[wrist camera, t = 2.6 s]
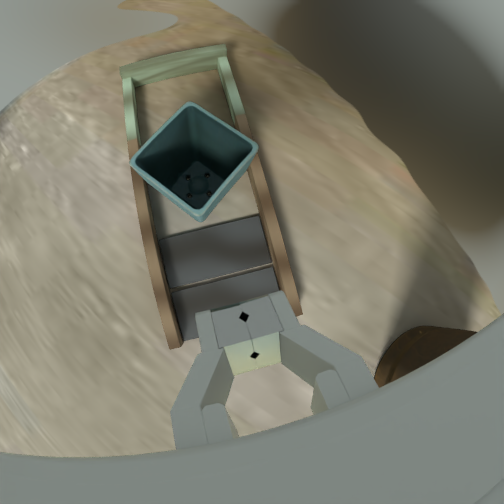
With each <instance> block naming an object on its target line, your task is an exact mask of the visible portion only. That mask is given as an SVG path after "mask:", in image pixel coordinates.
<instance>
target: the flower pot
mask: <svg viewBox="0 0 504 504" xmlns="http://www.w3.org/2000/svg"><path fill="white" fill-rule="evenodd" d="M258 149H259V146H258V144H257V143H256V142H254V141H253V140H251V139H250V138H248V137H247V136H245V135H244V134H242V133H241V132H239V131H237V130H236V129H234V128H233V127H231V126H230V125H228V124H227V123H225V122H224V121H222V120H220V119H219V118H217V117H216V116H214V115H213V114H211V113H210V112H208V111H206V110H205V109H204V108H202V107H200V106H199V105H197V104H196V103H194V102H190V101H189V102H186V103H185V104H184V105H183V106H182V107H181V108H180V109H179V110H178V111H177V112H176V113H174V114H173V116H172V117H171V118H169V119H168V120H167V121H166V122H165V123H164V124H163V125H162V126H161V127H160V128H159V129H158V130H157V131H156V132H155V133H154V134H153V136H152V137H151V138H150V139H149V140H148V141H147V142H146V143H145V144H144V145H143V146H142V147H141V148H140V149H139V150H138V151H137V152H136V153H135V154H134V155H133V157H132V158H131V159H130V161H129V164H130V166H131V167H132V168H133V169H134V170H135V171H136V172H137V173H138V174H139V175H140V176H141V177H142V178H143V179H144V180H145V181H146V182H147V183H148V184H150V185H151V186H152V187H154V188H155V189H156V190H158V191H159V192H160V193H162V194H163V195H164V196H165V197H167V198H168V199H169V200H171V201H172V202H173V203H174V204H176V205H177V206H178V207H180V208H181V209H182V210H184V211H185V212H186V213H187V214H189V215H190V216H191V217H193V218H194V219H195V220H196V221H198V222H203V221H204V220H205V219H206V218H207V217H208V215H209V214H210V213H211V212H212V210H213V209H214V208H215V207H216V206H217V204H218V203H219V202H220V201H221V199H222V198H223V197H224V196H225V195H226V193H227V192H228V191H229V190H230V189H231V188H232V186H233V185H234V184H235V183H236V182H237V181H238V180H239V178H240V177H241V176H242V175H243V174H244V173H245V172H246V170H247V169H248V167H249V165H250V163H251V162H252V160H253V158H254V156H255V155H256V153H257V151H258ZM206 174H209V175H210V177H209V178H206V177H205V175H206ZM188 176H189V177H190V180H186V178H187V177H188ZM208 192H211V193H212V194H211V196H208V195H207V193H208ZM189 194H191V195H192V198H188V195H189Z"/></svg>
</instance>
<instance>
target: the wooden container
mask: <svg viewBox="0 0 504 504" xmlns="http://www.w3.org/2000/svg"><path fill="white" fill-rule="evenodd" d="M476 333H477V332H474V331H468V330H460V329H452V328H442V327H434V326H420V327H416V328H413V329H411V330H409V331H407V332H405V333H404V334H402V335H401V336H400V337H399V338H398V339H397V340H396V341H395V342H394V343H393V344H392V345H391V346H390V347H389V349H388V350H387V351H386V353H385V354H384V356H383V358H382V360H381V362H380V363H379V366H378V368H377V371H376V374H375V378H374V380H375V382H376V383H377V385H378V387H379V388H380V387H382V386H385V385H387V384H389V383H391V382H393V381H395V380H397V379H399V378H401V377H403V376H405V375H407V374H409V373H410V372H412V371H414V370H416V369H418V368H420V367H422V366H423V365H425V364H427V363H429V362H431V361H432V360H434V359H436V358H438V357H439V356H441V355H443V354H444V353H446V352H448V351H449V350H451V349H453V348H454V347H456V346H457V345H459V344H461V343H462V342H464V341H465V340H467V339H468V338H470V337H471V336H473V335H474V334H476Z"/></svg>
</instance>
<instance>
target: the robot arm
mask: <svg viewBox="0 0 504 504" xmlns="http://www.w3.org/2000/svg"><path fill="white" fill-rule="evenodd" d="M195 318H196V324H197V329H198V335H199V340H200V345H201V351H202V353H200V354H198V355H197V357H196V359H195V361H194V363H193V365H192V367H191V369H190V371H189V373H188V376H187V378H186V380H185V382H184V384H183V386H182V388H181V390H180V392H179V394H178V396H177V399H176V401H175V403H174V405H173V407H172V409H171V411H170V413H171V420H172V427H173V433H174V439H175V445H176V450H171V451H164V452H156V453H147V454H137V455H125V456H109V457H48V456H33V455H22V454H13V453H5V452H0V504H504V314H502V315H501V316H500V317H498V318H497V319H496V320H494V321H493V322H491V323H490V324H489V325H487V326H486V327H484V328H483V329H482V330H480V331H479V332H477V333H476V334H474V335H473V336H471V337H470V338H468V339H467V340H465V341H464V342H462V343H461V344H459V345H457V346H456V347H454V348H453V349H451V350H449V351H448V352H446V353H444V354H443V355H441V356H439V357H438V358H436V359H434V360H432V361H431V362H429V363H427V364H425V365H423V366H422V367H420V368H418V369H416V370H414V371H412V372H410V373H409V374H407V375H405V376H403V377H401V378H399V379H397V380H395V381H393V382H391V383H389V384H387V385H385V386H382V387H380V388H379V387H378V385H377V383H376V382H375V380H374V378H373V376H372V374H371V373H370V371H369V369H368V367H367V366H366V364H365V362H364V360H363V359H362V357H361V356H360V355H358V354H356V353H354V352H352V351H351V350H349V349H347V348H345V347H343V346H342V345H340V344H338V343H336V342H334V341H333V340H331V339H329V338H327V337H326V336H324V335H322V334H320V333H318V332H317V331H315V330H313V329H311V328H310V327H308V326H306V325H301V326H300V324H299V322H298V320H297V318H296V316H295V314H294V312H293V310H292V307H291V305H290V303H289V301H288V299H287V297H286V295H285V293H284V292H283V291H282V290H281V291H278V292H274V293H270V294H268V295H267V294H266V295H263V296H259V297H256V298H252V299H249V300H245V301H242V302H239V303H236V304H231V305H227V306H223V307H219V308H214V309H210V310H206V311H202V312H198V313H195ZM281 362H282V364H283V365H284V366H286V367H287V368H288V369H290V370H291V371H292V372H294V373H295V374H296V375H297V376H299V377H300V378H301V379H303V380H304V381H305V382H307V383H308V384H309V385H311V386H312V387H314V391H313V397H312V403H311V409H312V412H313V414H314V415H312V416H309V417H306V418H303V419H300V420H297V421H294V422H291V423H288V424H285V425H282V426H278V427H275V428H272V429H268V430H265V431H261V432H257V433H254V434H250V435H246V436H242V437H239V435H238V432H237V429H236V427H235V425H234V423H233V421H232V420H231V418H230V416H229V414H228V412H227V410H226V408H225V404H226V401H227V398H228V395H229V392H230V389H231V385H232V382H233V379H234V376H235V375H238V374H242V373H245V372H249V371H252V370H255V369H257V368H258V369H259V368H262V367H266V366H270V365H274V364H277V363H281Z"/></svg>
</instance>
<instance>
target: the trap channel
mask: <svg viewBox="0 0 504 504" xmlns="http://www.w3.org/2000/svg"><path fill="white" fill-rule="evenodd" d="M226 56H227V48H226V45H225V44H221V45H214V46H208V47H202V48H196V49H190V50H185V51H180V52H175V53H171V54H166V55H162V56H158V57H154V58H150V59H146V60H142V61H139V62H135V63H131V64H128V65H125V66H121V67H120V75H121V77H122V81H123V98H124V111H125V123H126V133H127V142H128V151H129V159H131V158H132V157H133V155H134V154H135V153H136V152H137V151H138V150H139V149H140V148H141V141H140V133H139V125H138V116H137V107H136V97H135V87H138V86H142V85H145V84H149V83H153V82H157V81H161V80H165V79H169V78H173V77H178V76H183V75H187V74H192V73H197V72H203V71H208V70H214V69H218V72H219V76H220V79H221V82H222V86H223V89H224V92H225V96H226V99H227V102H228V106H229V109H230V112H231V116H232V119H233V123H234V126H235V129H236V130H237V131H239V132H241V133H242V134H244V135H245V136H247V137H248V138H250V139H251V140H253V137H252V133H251V130H250V127H249V124H248V121H247V118H246V114H245V111H244V108H243V105H242V102H241V99H240V96H239V93H238V90H237V87H236V84H235V80H234V77H233V74H232V71H231V68H230V65H229V63H228V60H227V57H226ZM253 141H254V140H253ZM130 167H131V166H130ZM247 171H248V175H249V178H250V182H251V185H252V189H253V192H254V196H255V199H256V203H257V207H258V210H259V214H260V217H261V221H262V225H263V228H264V232H265V236H266V239H267V243H268V246H269V250H270V254H271V257H272V261H273V265H274V269H275V272H276V276H277V280H278V284H279V287H280V291H281V290H282V291H283V292H284V293H285V295H286V297H287V299H288V301H289V303H290V305H291V307H292V310H293V312H294V314H295V316H299V315H302V314H303V313H302V309H301V305H300V301H299V297H298V294H297V290H296V286H295V282H294V279H293V275H292V271H291V267H290V264H289V260H288V256H287V253H286V249H285V246H284V242H283V238H282V235H281V231H280V228H279V224H278V221H277V217H276V214H275V210H274V207H273V203H272V200H271V196H270V193H269V190H268V186H267V183H266V179H265V176H264V173H263V169H262V166H261V163H260V159H259V156H258V153H256V155H255V156H254V158H253V160H252V162H251V163H250V165H249V167H248V169H247ZM131 174H132V181H133V188H134V194H135V201H136V207H137V212H138V218H139V224H140V229H141V234H142V239H143V244H144V249H145V254H146V259H147V263H148V268H149V272H150V277H151V281H152V285H153V290H154V294H155V298H156V302H157V306H158V309H159V313H160V317H161V321H162V325H163V328H164V332H165V335H166V339H167V342H168V346H169V349H174V348H179V347H181V346H182V344H183V340H182V337H181V333H180V330H179V326H178V322H177V319H176V315H175V311H174V308H173V304H172V300H171V296H170V292H169V288H168V284H167V280H166V275H165V271H164V267H163V262H162V258H161V254H160V249H159V244H158V240H157V235H156V230H155V225H154V220H153V215H152V209H151V204H150V198H149V193H148V187H147V182H146V181H145V180H144V179H143V178H142V177H141V176H140V175H139V174H138V173H137V172H136V171H135V170H134V169H133V168H132V167H131ZM159 243H160V247H161V252H162V256H163V261H164V265H165V270H166V274H167V278H168V282H169V286H170V288H174V287H178V286H182V285H186V284H190V283H194V282H198V281H202V280H206V279H210V278H214V277H218V276H222V275H226V274H230V273H234V272H237V271H241V270H245V269H249V268H253V267H257V266H261V265H264V264H268V263H272V262H271V259H270V255H269V251H268V248H267V244H266V240H265V237H264V233H263V229H262V226H261V222H260V218H259V216H255V217H251V218H247V219H242V220H238V221H234V222H230V223H226V224H222V225H217V226H213V227H209V228H205V229H201V230H197V231H193V232H189V233H185V234H181V235H177V236H174V237H170V238H166V239H162V240H159ZM278 291H279V288H278V285H277V281H276V277H275V273H274V270H273V267H270V268H266V269H263V270H259V271H255V272H251V273H247V274H243V275H240V276H236V277H232V278H228V279H224V280H220V281H216V282H212V283H208V284H204V285H200V286H196V287H192V288H188V289H184V290H180V291H176V292H172V293H171V294H172V298H173V302H174V306H175V310H176V314H177V317H178V321H179V325H180V328H181V332H182V335H183V339H184V341H186V340H191V339H195V338H199V335H198V329H197V324H196V318H195V313H198V312H202V311H206V310H210V309H214V308H219V307H223V306H227V305H231V304H236V303H239V302H242V301H245V300H249V299H252V298H256V297H259V296H263V295H266V294H267V295H268V294H270V293H274V292H278Z"/></svg>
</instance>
